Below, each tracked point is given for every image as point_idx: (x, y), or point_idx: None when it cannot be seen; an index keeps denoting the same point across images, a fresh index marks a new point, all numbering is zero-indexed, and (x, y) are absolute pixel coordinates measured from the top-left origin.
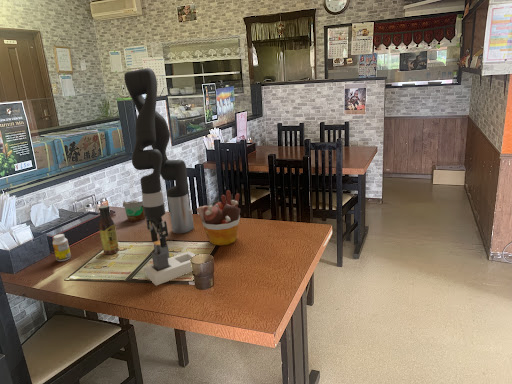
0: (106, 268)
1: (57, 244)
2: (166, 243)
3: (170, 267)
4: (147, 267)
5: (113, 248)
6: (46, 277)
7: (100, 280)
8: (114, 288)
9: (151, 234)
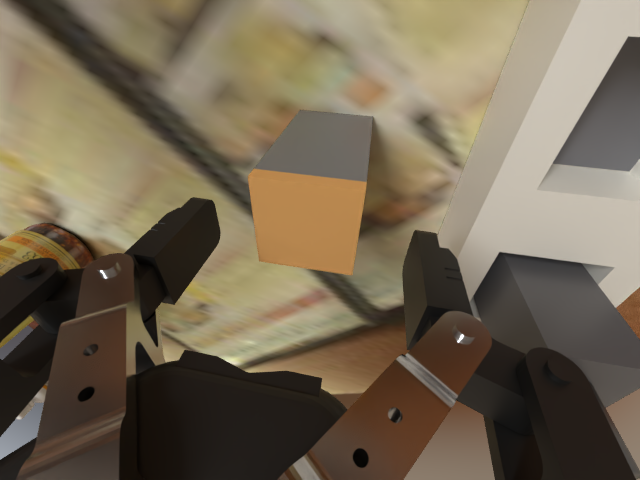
0: (223, 311)
1: None
2: (438, 248)
3: (617, 278)
4: None
5: (71, 266)
6: None
7: (302, 349)
8: (393, 356)
9: (183, 291)
